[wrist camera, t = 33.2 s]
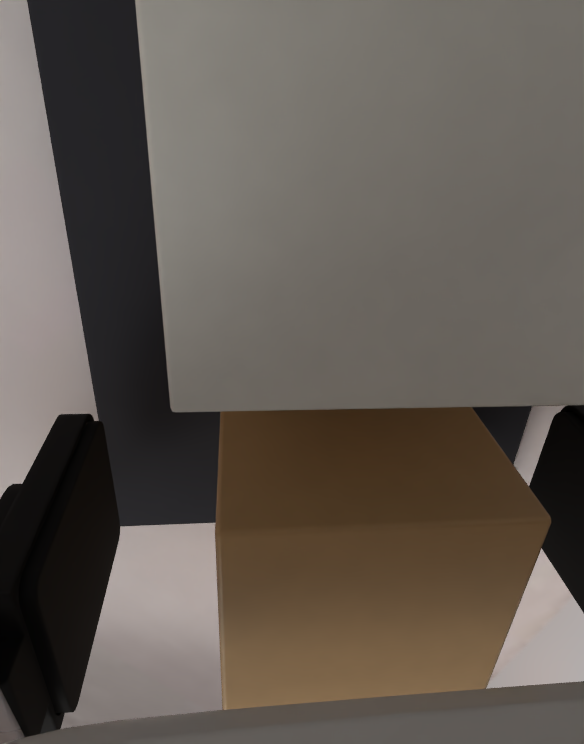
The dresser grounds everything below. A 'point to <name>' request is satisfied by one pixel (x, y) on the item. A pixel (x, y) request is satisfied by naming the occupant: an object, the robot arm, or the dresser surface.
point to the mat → (133, 265)
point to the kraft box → (366, 553)
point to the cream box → (367, 201)
